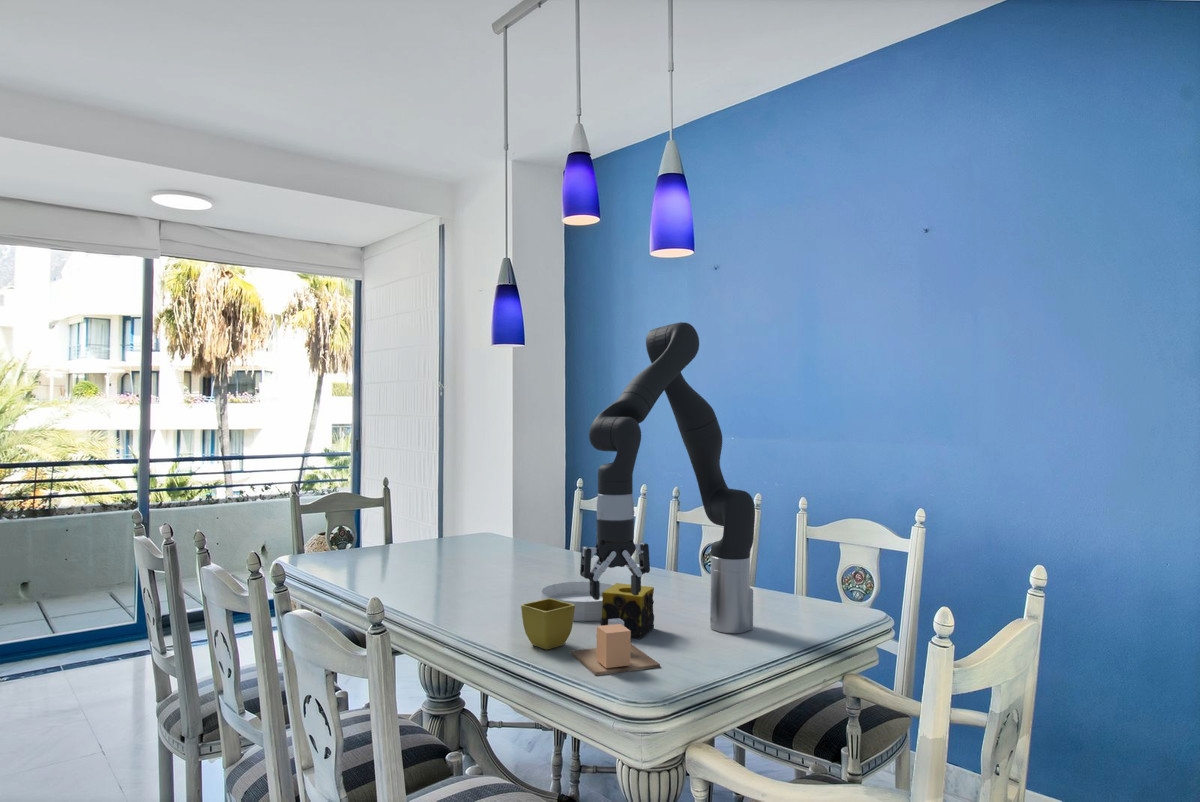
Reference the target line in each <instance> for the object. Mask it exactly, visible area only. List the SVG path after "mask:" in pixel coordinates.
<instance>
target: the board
mask: <svg viewBox="0 0 1200 802" xmlns="http://www.w3.org/2000/svg"><path fill="white" fill-rule="evenodd" d="M570 652H571V653H570V654H571V655H572V656H573V657H574V658H576V659H577V661H579V663H581V664H582V665H583V666H584V667H585V668H586V669H588V671H589V672H590V673H592V674H593V675H594V676H603V675H609V674H617V673H626V672H634V671H641V670H647V669H657V668H660V667H661V663H659V662H658V661H656V660H655V659H653V658H652V657H650V656H649V655H648V654H647V653H645V652H643V651H642V650H640V649H639V648H638V647H637V646H636V645H633V644H632V643H631V651H630V665H628V666H620V667H612V668H605V667H604V666H603V665H602V664H601V663H599V662H598V661H597V660H596V653H597V647H594V648H584V649H575V650H571V651H570Z"/></svg>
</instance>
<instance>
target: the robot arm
mask: <svg viewBox="0 0 1200 802" xmlns="http://www.w3.org/2000/svg"><path fill="white" fill-rule="evenodd" d="M645 347H646V351H647V355H648V358H649V361H650V363H651V364H650V365H648V366H647V367H646V368H644V369H643V370H642V371H640V372H639V373H638V374H637V375H636V376H635V377H633V378H632V379H631V380H630V381H629V382H628V384H627V385H626V387H625V388H624V390H623V391H622V393H621V394H620V396H619V397H618V398H617V400H615V401H613V402H612V403H611V404H610V405H608V406H607V407H606V408H605V409H604V410H602V411H601V412H600V413H599V414H598V415H597V416H596V417H595V418H594V420H593V421H592V423H591V424H590V428H589V430H588V438H589V439H588V440H589V442H590V445H591V446H592V447H593V448H594V449H595V450H597V451H601V452H615V453H616V455H615V457H614V459H613V461H612V462H608V463H604V464H602V465H600V466H599V467H598V470H597V498H596V499H597V500H596V544H595V546H594V547H593V546H591V547H588V546H585V545H583V546H582V547H581V552H580V568H579V571H580V572H579V574H580V577H583V578H585V579H586V580H589V582H590V595H591V596H592V597H593V599H595V600H599V598H600V583H601V582H600V580H599V579H600V578H601V576H602V575H603V574H604V573H605V572H606V570H607V569H608V568H610V569H614V568H617V567H620V568H625V566H626V568H628V570H629V571H630V572H631V575H630V585H631V593H632V594H633V595H639V592H640V591H641V586H642V576H643V575H645V574H649V573H650V570H651V565H650V564H651V563H650V547H649V544H648V543H646V542H643V541H639V542H638V543H635V542H634V540H635V539H634V538H635V503H634V497H633V495H634V494H633V490H634V489H633V487H634V486H633V477H634V475H633V474H634V470H635V464H636V460H637V457H638V453H639V450H640V449H639V448H640V446H641V442H642V430H641V427H640V424H641V423H642V422H643V421H645V419H646V418H647V417H648V415H649V413H650V412H651V411H652V409H653V407H654V406H655V404H656V402H657V401H658V399H659V398H660V397H661V395H662V394H663V392H665V395H666V398H667V400H668V403H669V404H670V405H669V406H670V408H671V410H672V413H673V416H674V419H675V421H676V424H677V428H678V431H679V433H680V436H681V439H682V442H683V445H684V446H685V449H686V451H687V455H688V457H689V461H690V464H691V467H692V469H693V472H694V475H695V478H696V483H697V485H698V489H699V494H700V498H701V502H702V505H703V510H704V513H705V514H706V517H707V519H708V520H709V521H710V522H711V523H712V524H714V525H716V526H721V527H723V530H722V531H723V533H722V537H721V538H720V540H716V541H714V542H713V543H711V546H710V611H709V614H710V619H709V622H710V625H709V627H710V629H711V630H713V631H716V632H720V633H725V634H741V633H742V634H743V633H746V632H748V631H751V630H753V629H754V589H753V588H751V577H750V576H751V550H752V548H753V544H754V540H755V539H754V538H755V535H754V534H755V524H756V523H755V520H756V506H755V502H754V499H753V497H752V495H751V494H750V493H749V492H747V491H745V490H742V489H735V488H729V487H728V485H727V483H726V481H725V479H724V475H723V472H722V470H721V455H722V449H723V434H722V429H721V426H720V424H719V421H718V418H717V415H716V412H715V411H714V408H713V407H712V406H711V404H709V403H708V401H707V400H706V399H705V398H704V397H703V396H702V395H701V394H699V393H698V392H697V391H696V390H695V389H693V387H692V386H691V385H689V383H688V382H687V381H686V379H685V377H684V376H683V373H682V371H683V370H684V369H685V368H686V367H687V366H688V365H689V364H690V363H691V362H692V361H693V360H694V359H695V358H696V357H697V354H698V352H699V348H700V338H699V335H698V332H697V330H696V329H695V327H694V326H693V325H692V324H690V323H688V322H682V321H681V322H675V323H672V324H671V323H670V324H667V325H664V326H659V327H656V328H652V329H651V330H649V332H648V333H647V335H646V337H645ZM635 552H636V553H637V554H638V564H639V566H638V564H637V563H636V562H635V560H634V559H633V555H634V553H635ZM595 554H596V555H597V557H598V558H597V560H596V561H595V562H594V564H593V568H591V567H592V566H591V565H592V559H593V558H594V555H595Z"/></svg>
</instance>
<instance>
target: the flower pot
mask: <svg viewBox="0 0 1200 802" xmlns="http://www.w3.org/2000/svg"><path fill="white" fill-rule="evenodd" d="M520 609H521V615H522V616H521V617H522V623H523V628H524V629H523V630H524V633H525V635H526V636H527V638H528V640H529V642H530V644H531V645H532V646H534V647H538V648H541V649H543V650H551V649H554V648H557V647H562V646H564V645H565V644H566V642H567V640H568V638H569V637H570V634H571V633H572V629H573V625H574V621H573V618H574V610H575V605H574V604H570V603H566V602H562V601H558V600H555V599H550V598H549V599H544V600H541V599H540V600H537V601H531V602H528V603H527V602H526V603H523V604H520Z"/></svg>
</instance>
